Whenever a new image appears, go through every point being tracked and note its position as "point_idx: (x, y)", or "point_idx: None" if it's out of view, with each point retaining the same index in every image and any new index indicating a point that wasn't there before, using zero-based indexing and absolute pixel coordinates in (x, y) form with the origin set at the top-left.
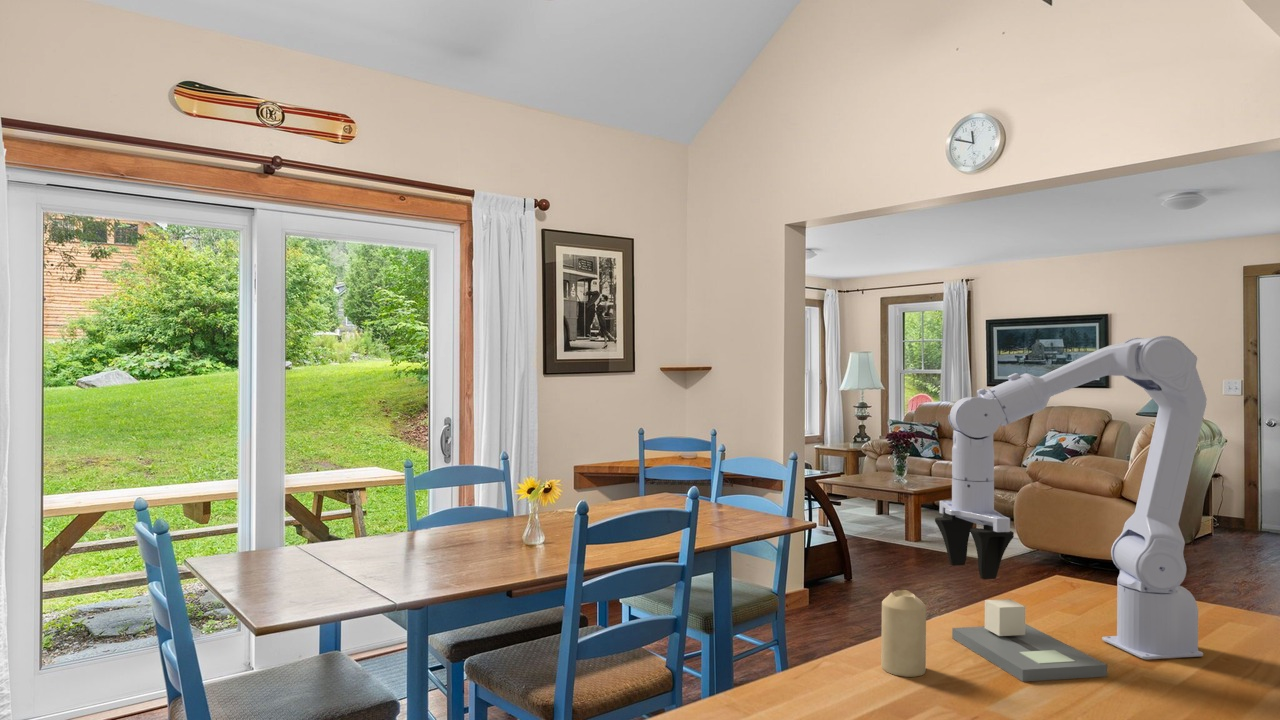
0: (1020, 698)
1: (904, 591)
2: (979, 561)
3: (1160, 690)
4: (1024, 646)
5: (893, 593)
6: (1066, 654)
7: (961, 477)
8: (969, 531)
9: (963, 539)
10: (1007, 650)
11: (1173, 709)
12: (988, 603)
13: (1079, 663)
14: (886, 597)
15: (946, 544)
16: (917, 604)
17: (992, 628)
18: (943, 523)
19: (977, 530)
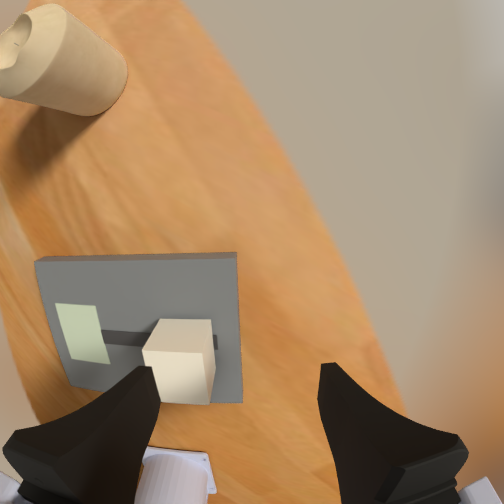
0: (6, 219)
1: (24, 45)
2: (116, 392)
3: (53, 393)
4: (121, 332)
5: (30, 19)
6: (97, 368)
7: None
8: (341, 500)
9: (339, 463)
10: (103, 292)
11: (15, 364)
12: (186, 350)
13: (67, 358)
14: (39, 8)
15: (362, 399)
16: None
17: (180, 322)
18: (384, 466)
19: (25, 462)
